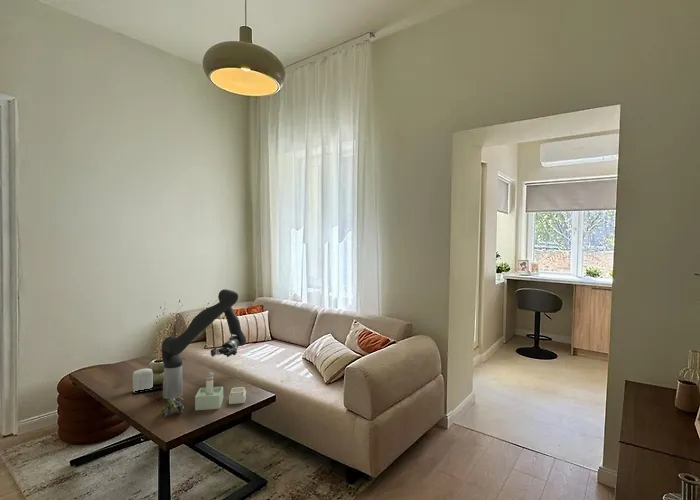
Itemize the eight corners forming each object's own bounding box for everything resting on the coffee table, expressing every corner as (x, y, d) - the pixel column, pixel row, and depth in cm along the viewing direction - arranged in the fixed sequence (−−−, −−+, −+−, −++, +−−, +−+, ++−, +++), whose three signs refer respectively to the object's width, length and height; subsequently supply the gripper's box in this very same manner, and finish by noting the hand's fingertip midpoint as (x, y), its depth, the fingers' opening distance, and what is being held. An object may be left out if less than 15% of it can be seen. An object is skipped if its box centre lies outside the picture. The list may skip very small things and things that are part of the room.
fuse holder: (228, 404, 203) (228, 393, 203) (231, 397, 211) (231, 387, 211) (244, 403, 205) (244, 392, 204) (246, 396, 213) (245, 386, 212)
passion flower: (180, 423, 193) (191, 406, 190) (159, 428, 184) (170, 410, 182) (172, 405, 199) (182, 389, 196) (151, 409, 190) (162, 392, 188)
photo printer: (152, 387, 226) (152, 366, 226) (153, 389, 222) (153, 368, 222) (132, 390, 220) (132, 369, 220) (133, 393, 217) (132, 371, 216)
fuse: (205, 396, 200) (205, 374, 200) (206, 393, 204) (206, 371, 204) (212, 396, 201) (212, 373, 201) (214, 393, 205) (214, 371, 204)
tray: (195, 410, 196) (195, 396, 196) (200, 400, 208) (200, 387, 207) (219, 408, 198) (219, 395, 198) (223, 399, 210) (223, 386, 209)
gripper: (217, 341, 233) (207, 348, 216) (241, 341, 233) (232, 348, 216) (217, 353, 233) (207, 361, 217) (240, 353, 233) (232, 362, 216)
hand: (219, 355), depth 216 cm, fingers open, 8 cm apart
